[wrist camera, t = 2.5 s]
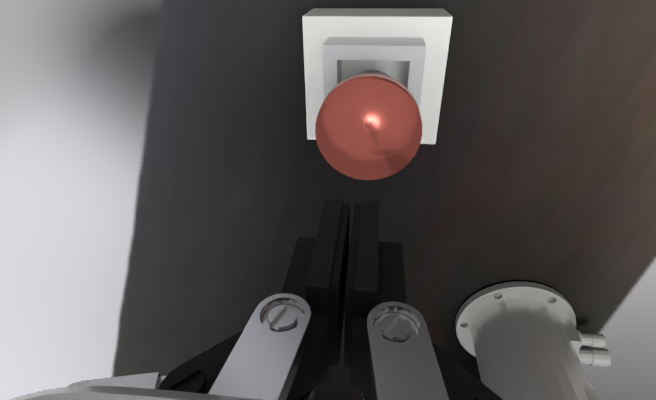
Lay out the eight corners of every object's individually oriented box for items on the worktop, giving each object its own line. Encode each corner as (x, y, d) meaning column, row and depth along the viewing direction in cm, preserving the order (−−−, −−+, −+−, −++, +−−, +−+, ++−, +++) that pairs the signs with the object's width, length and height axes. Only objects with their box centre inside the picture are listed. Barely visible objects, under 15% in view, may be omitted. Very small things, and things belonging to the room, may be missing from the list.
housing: (443, 8, 31) (459, 23, 24) (429, 121, 35) (439, 161, 28) (313, 8, 32) (293, 22, 25) (316, 118, 36) (300, 155, 30)
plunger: (419, 53, 25) (428, 80, 19) (410, 139, 28) (416, 182, 22) (328, 52, 25) (313, 78, 20) (329, 136, 28) (316, 177, 23)
